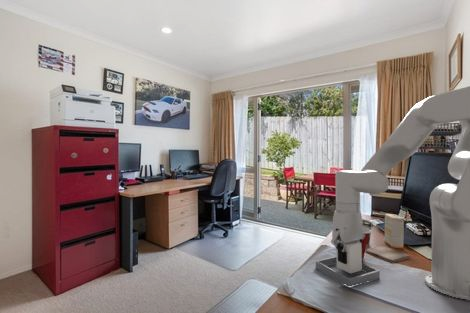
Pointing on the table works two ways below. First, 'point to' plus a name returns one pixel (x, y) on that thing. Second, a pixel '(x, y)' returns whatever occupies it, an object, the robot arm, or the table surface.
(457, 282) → the robot arm
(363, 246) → the plastic cup
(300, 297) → the table surface
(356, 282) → the bin
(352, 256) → the carton
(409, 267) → the table surface
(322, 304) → the table surface
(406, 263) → the table surface
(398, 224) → the supplement box
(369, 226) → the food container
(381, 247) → the beige square coaster
